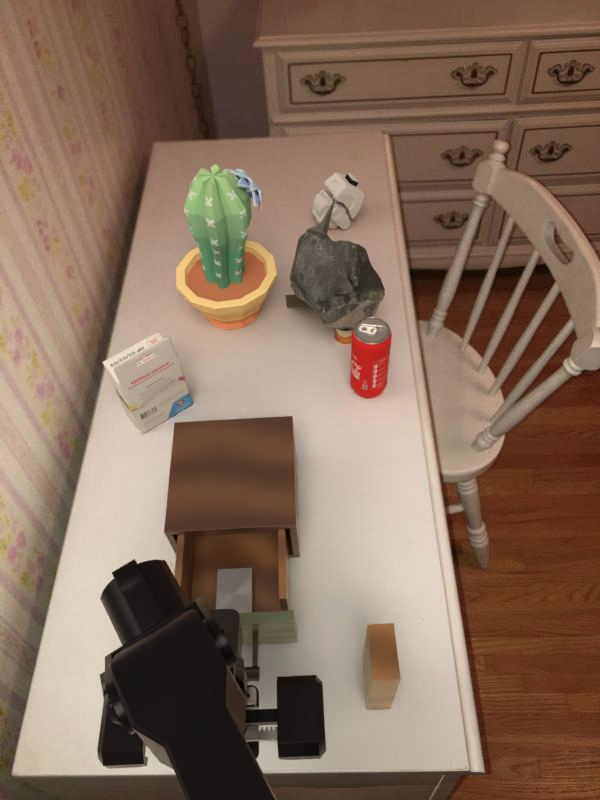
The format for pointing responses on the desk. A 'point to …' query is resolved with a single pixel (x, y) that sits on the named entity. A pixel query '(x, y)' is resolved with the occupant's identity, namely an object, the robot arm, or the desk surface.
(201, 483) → the cabinet
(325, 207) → the white faceted figurine
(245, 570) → the brushed metal block
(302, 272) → the narwhal figurine
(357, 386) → the beverage can
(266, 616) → the drawer
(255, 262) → the potted cactus
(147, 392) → the ink box
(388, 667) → the stand
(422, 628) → the desk surface
